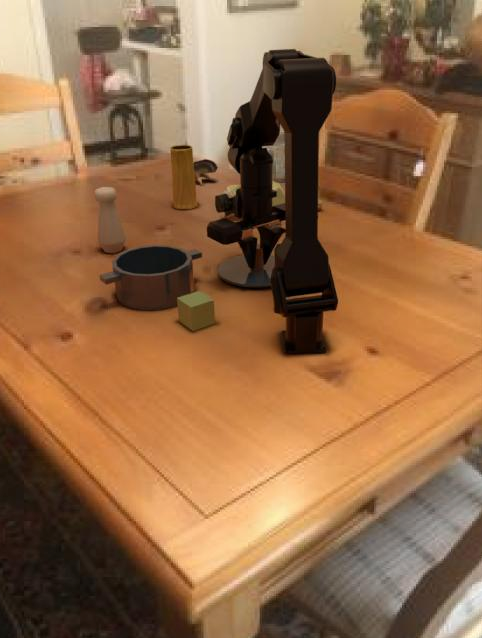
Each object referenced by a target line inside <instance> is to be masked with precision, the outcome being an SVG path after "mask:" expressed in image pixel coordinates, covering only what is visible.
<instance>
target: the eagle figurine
mask: <svg viewBox="0 0 482 638" xmlns="http://www.w3.org/2000/svg"><path fill="white" fill-rule="evenodd" d="M193 163H194V174H195V181H196V182H198V183H199V184H200V186H202V185H203V181H202V179H201V178H204V179H207V180H210V181H212V182H216V181H217V180H216V179H214V178H212V177H211V176H210V175H209V174H212V173H216V172H217V171H218V169H219V167H218V164H216V162H215V161H214V160H211V159H207V158H206V159H200V160H197V161H193Z"/></svg>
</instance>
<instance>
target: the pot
mask: <svg viewBox="0 0 482 638" xmlns="http://www.w3.org/2000/svg"><path fill="white" fill-rule="evenodd" d="M201 258H203V253H202V251H200V250H198V249H197V248H193V249H189V250H186V249H185V248H182V247H177V246H174V245H167V244H166V245H165V244H152V245H151V244H150V245H140V246H137V247H133V248H130V249H126V250H124V251H121V252H120V253H118V254H116V255H115V256H114V258H113V259H112V260H111V266H112V271H109V272H105V273H102V274H99V281H101V282H102V283H103V284H104V285H110V284H113V283H114V286H115V294H116V299H117V301H118V302H119V303H120V304H121V305H123V306H124V307H127V308H130V309H134V310H139V311H159V310H165V309H166V310H167V309H171V308H174V307H178V304H177V298H178V297H181V296H184V295H188V294H191V293H194V291H195V279H194V265H193V264H194V263H193V261H194V260H197V259H201Z"/></svg>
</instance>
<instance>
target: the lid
mask: <svg viewBox="0 0 482 638" xmlns="http://www.w3.org/2000/svg"><path fill="white" fill-rule="evenodd" d="M274 267H275V254H271V255H270V257H269V259H268V261H267V263H266V265H264V246H263V245H261V244H260V243H257V249H256V257H255V264H254V268H253V269H251V268H249V267H248V264H247V262H246V259H245V257H244V254H242V255H237V256H234V257H230V258H228V259H226V260H224V261H223V262H221V264H219V266H218V268H217V273H218V276H219V278H220V279H221V280H223V281H224V282H226V283H227V284H230V285H234V286H238V287H244V288H268V287H271V283H270V278H271V274H272V269H273V268H274Z"/></svg>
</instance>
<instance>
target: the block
mask: <svg viewBox="0 0 482 638" xmlns="http://www.w3.org/2000/svg"><path fill="white" fill-rule="evenodd" d="M177 304H178V305H177V315H178V322H179V323H181V324H182V325H183V326H185V328H187V329H188V330H189V331H191V332H195V331H198V330H200V329H203V328H206V327H209V326H212V325H215V324H216V314H215V299H213V298H212V297H211V296H209V295H208V294H205V293H204V292H202V291H201V290H198V291H195V292H194V293H191V294H188V295H184V296H181V297H178V298H177Z"/></svg>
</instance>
